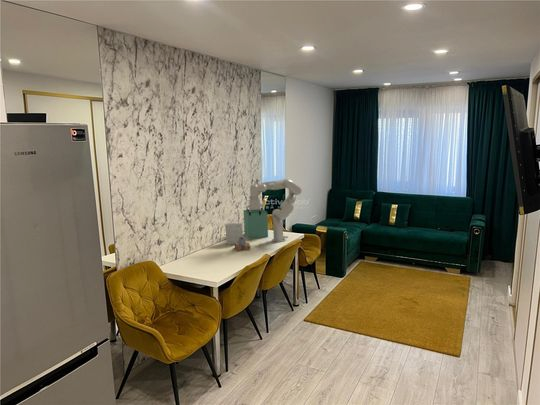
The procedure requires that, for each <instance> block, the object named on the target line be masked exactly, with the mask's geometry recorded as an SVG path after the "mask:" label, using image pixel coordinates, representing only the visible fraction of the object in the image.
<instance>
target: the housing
mask: <svg viewBox="0 0 540 405" xmlns="http://www.w3.org/2000/svg"><path fill="white" fill-rule="evenodd" d="M246 242H247V240H246V238H245V237H244V236H243V237H240V238H239V245H240V246H246Z"/></svg>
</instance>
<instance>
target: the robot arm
mask: <svg viewBox="0 0 540 405" xmlns="http://www.w3.org/2000/svg"><path fill="white" fill-rule="evenodd" d="M282 189H288V195H287V197H286V198H285V199H284V201H282V202H281V203H280V206H279V207H280V209H279V208H276V209H273V210H272V213H271V216H272V224H273V226H272V228H273V229H272V230H273V232H272V233H273V238H272V240H271V241H272V242H275V243H281V242H285V240H286V239H288V238H289V237H288V235H284V221H285V220H286V219H287V218H288V217H289V215H290V214H291V213H293V210H294V208H295V207H294V203H295V202H296V200H297V196H298V195H301V193H302V188H301V187H300V186H299V185H298V184H297V183H295V182H294V181H292V180H291V179H286V178H285V179H279V180H273V181H265V182H259V183H256V184H251V185H250V186H249V193H250V195H249V196H248V198H249V202H248V203H249V204H248V206H246V207H245V210H248V211H249V215H250V216H251V212H250V211H251V210H258V209H259V215H261V210H262V209H263V210H264V205H262V204H261V200H260V199H259V193H265V192H266V191H267V190H269V191H270V190H271V191H277V190H282Z"/></svg>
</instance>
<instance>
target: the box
mask: <svg viewBox="0 0 540 405" xmlns="http://www.w3.org/2000/svg"><path fill="white" fill-rule="evenodd" d="M248 210H249V209H248ZM248 210H247V209H244V210H243V225H244V226H243V228H244V229H243V230H244V233H243V235H244V236H245V237H247V239H249V240H251V239H262V238H269V222H268V220H269V219H268V212H267V211H266V210H265V209H264V208H263V209H262V210H261V215H259V209H258V210H251V211H250V212H251V216H250V215H249V211H248Z"/></svg>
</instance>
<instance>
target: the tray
mask: <svg viewBox="0 0 540 405" xmlns="http://www.w3.org/2000/svg"><path fill="white" fill-rule="evenodd" d="M248 243H249V242H248ZM248 243H246V246H240V245H239V244H234V249H235V250H236V251H237V252H244V250H245V251H250V250H251V246H249V245H248Z"/></svg>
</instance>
